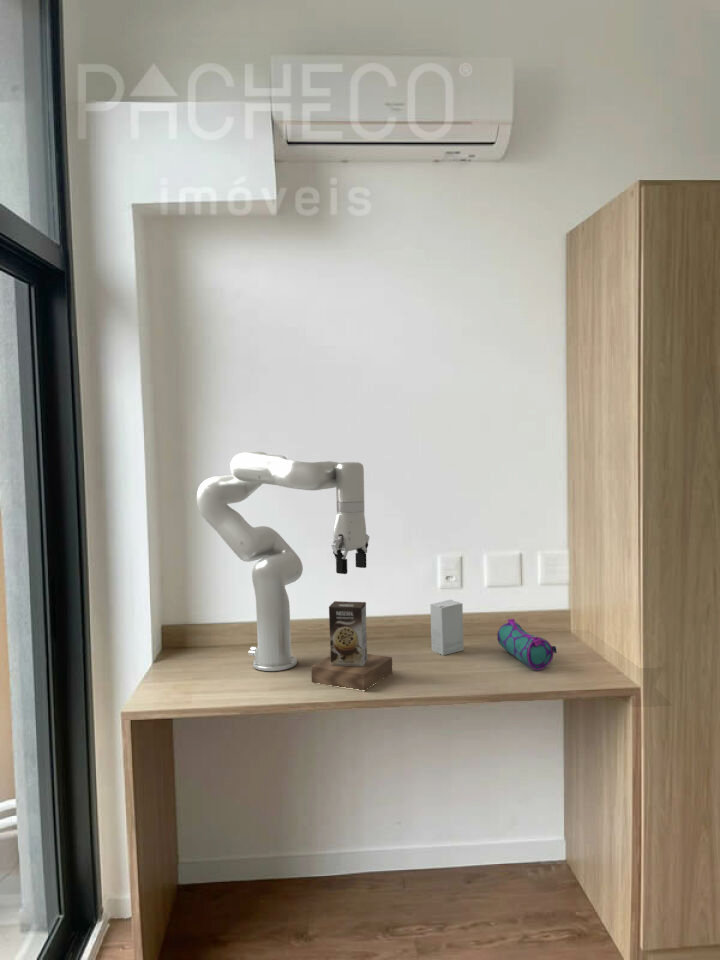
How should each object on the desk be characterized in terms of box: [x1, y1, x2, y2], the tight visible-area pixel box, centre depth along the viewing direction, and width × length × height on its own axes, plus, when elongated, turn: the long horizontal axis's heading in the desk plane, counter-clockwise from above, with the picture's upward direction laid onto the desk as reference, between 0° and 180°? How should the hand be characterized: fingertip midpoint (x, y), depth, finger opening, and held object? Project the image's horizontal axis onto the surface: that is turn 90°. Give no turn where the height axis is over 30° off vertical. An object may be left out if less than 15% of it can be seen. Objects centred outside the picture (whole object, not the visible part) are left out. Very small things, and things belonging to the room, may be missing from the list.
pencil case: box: [496, 618, 558, 672], centre depth 203 cm, size 21×9×10 cm, turn 14°
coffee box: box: [328, 600, 368, 667], centre depth 190 cm, size 9×6×16 cm
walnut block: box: [310, 653, 393, 691], centre depth 191 cm, size 16×16×5 cm
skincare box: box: [430, 599, 464, 656], centre depth 213 cm, size 8×6×15 cm
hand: (351, 570), depth 192 cm, fingers open, 9 cm apart
